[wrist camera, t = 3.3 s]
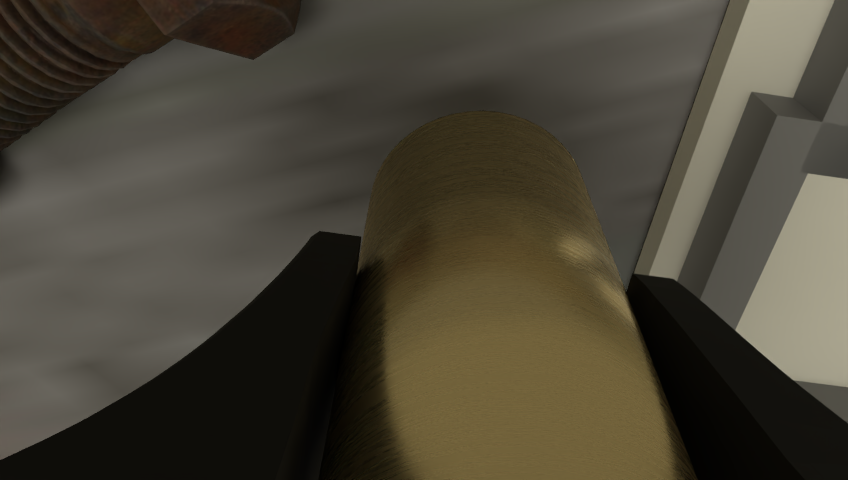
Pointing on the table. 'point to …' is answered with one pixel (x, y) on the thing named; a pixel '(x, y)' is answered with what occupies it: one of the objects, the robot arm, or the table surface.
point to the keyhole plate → (768, 190)
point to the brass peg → (493, 323)
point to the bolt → (114, 44)
